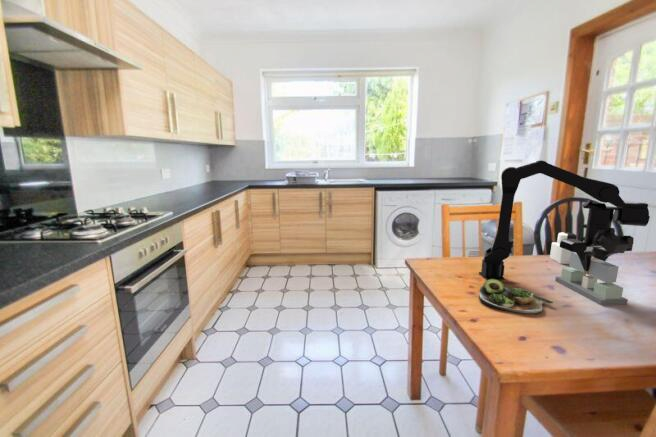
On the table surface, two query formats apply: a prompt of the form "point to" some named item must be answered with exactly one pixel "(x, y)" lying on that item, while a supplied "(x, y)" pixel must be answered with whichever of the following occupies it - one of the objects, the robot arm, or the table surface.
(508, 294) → the salad plate
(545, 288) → the table surface
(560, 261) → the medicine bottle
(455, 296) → the table surface
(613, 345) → the table surface
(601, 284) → the display stand
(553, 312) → the table surface
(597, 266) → the banded grey bar
